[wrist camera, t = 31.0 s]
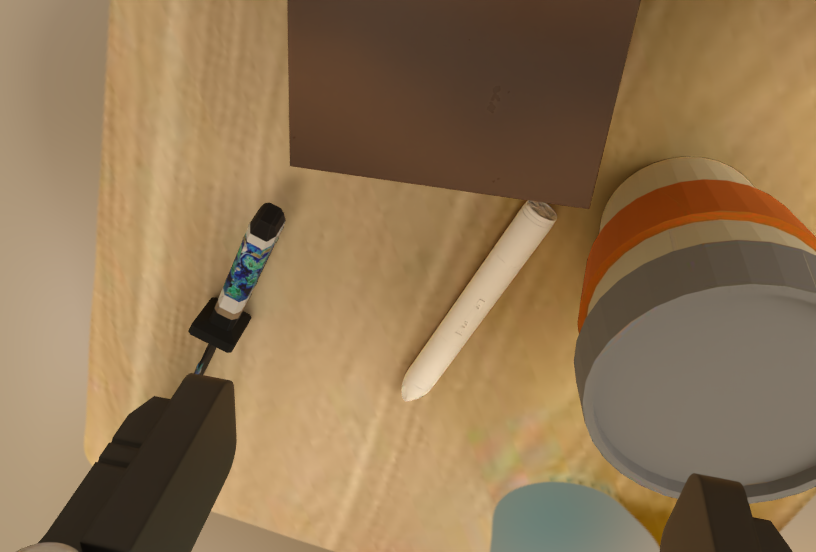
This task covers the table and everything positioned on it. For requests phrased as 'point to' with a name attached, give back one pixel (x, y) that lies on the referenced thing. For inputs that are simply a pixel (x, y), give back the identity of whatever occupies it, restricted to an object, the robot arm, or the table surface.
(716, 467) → the reusable coffee cup
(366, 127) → the cabinet
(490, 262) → the marker
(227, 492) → the table surface
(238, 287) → the knife
